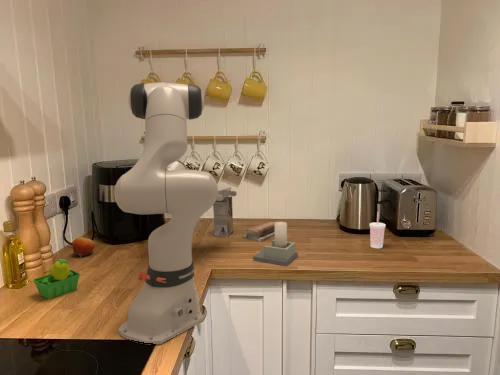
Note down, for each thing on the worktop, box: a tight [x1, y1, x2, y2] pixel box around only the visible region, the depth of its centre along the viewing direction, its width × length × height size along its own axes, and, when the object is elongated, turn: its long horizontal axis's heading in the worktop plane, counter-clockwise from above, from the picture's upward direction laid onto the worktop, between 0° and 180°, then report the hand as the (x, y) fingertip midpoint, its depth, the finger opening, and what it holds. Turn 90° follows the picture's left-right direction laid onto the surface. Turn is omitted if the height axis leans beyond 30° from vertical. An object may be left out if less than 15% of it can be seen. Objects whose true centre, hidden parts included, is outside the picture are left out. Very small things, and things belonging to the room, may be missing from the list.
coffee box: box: [212, 196, 234, 238], centre depth 185 cm, size 9×6×16 cm
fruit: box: [71, 236, 95, 259], centre depth 161 cm, size 8×8×8 cm
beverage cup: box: [368, 211, 387, 249], centre depth 165 cm, size 6×6×14 cm
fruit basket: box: [32, 258, 81, 299], centre depth 127 cm, size 11×9×11 cm
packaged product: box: [241, 221, 276, 242], centre depth 184 cm, size 18×5×10 cm
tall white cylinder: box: [274, 221, 288, 248], centre depth 152 cm, size 4×4×12 cm
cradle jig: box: [252, 239, 299, 267], centre depth 154 cm, size 11×13×6 cm
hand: (229, 195), depth 154 cm, fingers open, 8 cm apart
